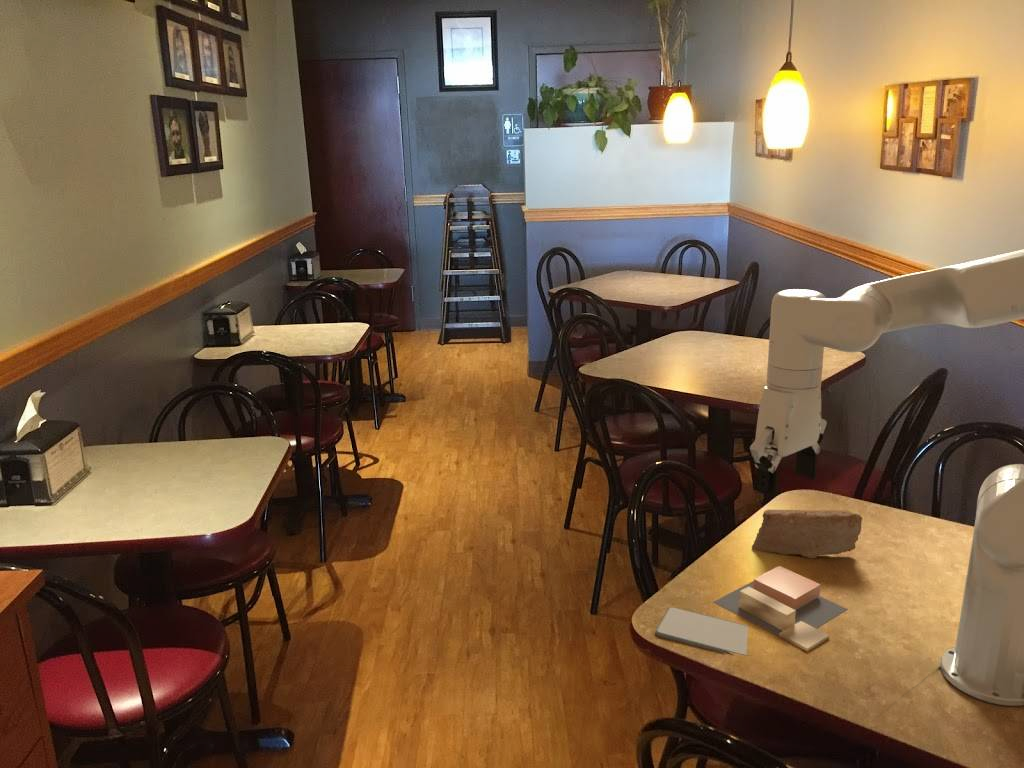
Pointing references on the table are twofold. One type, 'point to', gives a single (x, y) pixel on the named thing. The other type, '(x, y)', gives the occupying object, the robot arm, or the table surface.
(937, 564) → the table surface
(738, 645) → the smartphone
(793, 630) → the turner
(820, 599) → the mat
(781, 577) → the tile
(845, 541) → the stone
